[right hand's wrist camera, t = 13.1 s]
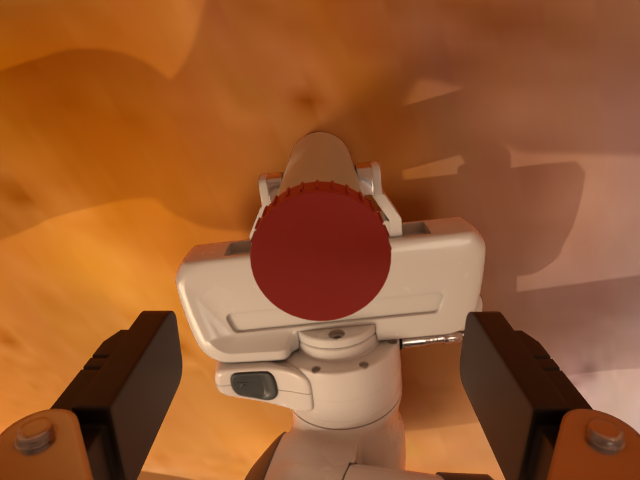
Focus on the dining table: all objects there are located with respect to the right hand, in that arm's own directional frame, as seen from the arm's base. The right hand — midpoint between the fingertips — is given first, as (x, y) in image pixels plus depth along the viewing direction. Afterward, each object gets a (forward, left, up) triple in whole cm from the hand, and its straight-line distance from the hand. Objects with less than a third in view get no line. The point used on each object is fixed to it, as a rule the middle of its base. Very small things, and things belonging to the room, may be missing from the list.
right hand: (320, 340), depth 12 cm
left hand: (0, +1, -17) cm, 17 cm away
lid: (0, 0, -5) cm, 5 cm away
